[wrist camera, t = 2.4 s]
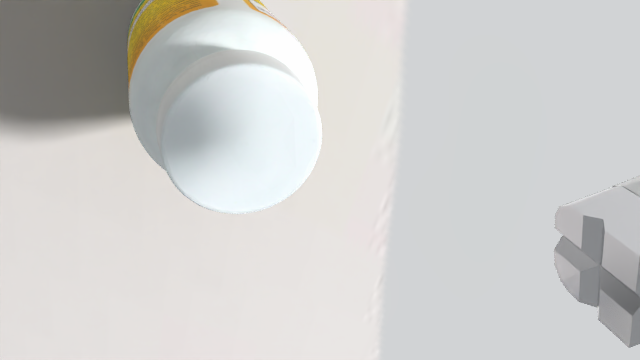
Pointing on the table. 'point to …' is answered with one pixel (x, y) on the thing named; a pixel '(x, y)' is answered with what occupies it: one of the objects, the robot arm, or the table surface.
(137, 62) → the supplement bottle
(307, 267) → the table surface
